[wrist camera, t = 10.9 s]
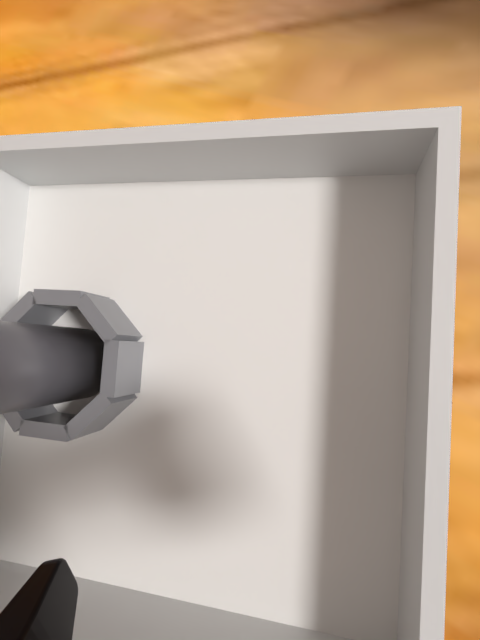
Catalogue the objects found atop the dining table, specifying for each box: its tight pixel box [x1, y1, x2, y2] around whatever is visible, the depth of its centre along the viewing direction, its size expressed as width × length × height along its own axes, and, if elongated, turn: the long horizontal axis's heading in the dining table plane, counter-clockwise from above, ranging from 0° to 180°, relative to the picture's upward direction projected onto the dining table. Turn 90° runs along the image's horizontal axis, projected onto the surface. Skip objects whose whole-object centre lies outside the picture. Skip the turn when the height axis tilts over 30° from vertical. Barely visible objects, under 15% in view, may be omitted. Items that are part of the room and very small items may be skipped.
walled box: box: [0, 106, 462, 640], centre depth 20 cm, size 24×24×5 cm
